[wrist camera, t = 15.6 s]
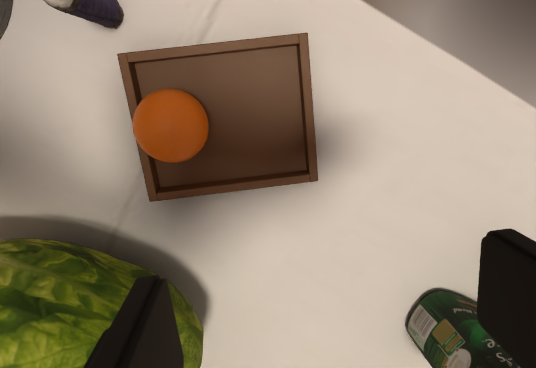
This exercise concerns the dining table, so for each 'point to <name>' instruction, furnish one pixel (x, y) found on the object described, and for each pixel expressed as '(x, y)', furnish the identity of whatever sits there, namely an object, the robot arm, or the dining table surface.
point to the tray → (232, 113)
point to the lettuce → (70, 304)
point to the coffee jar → (454, 334)
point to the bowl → (4, 14)
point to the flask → (92, 10)
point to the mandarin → (170, 125)
